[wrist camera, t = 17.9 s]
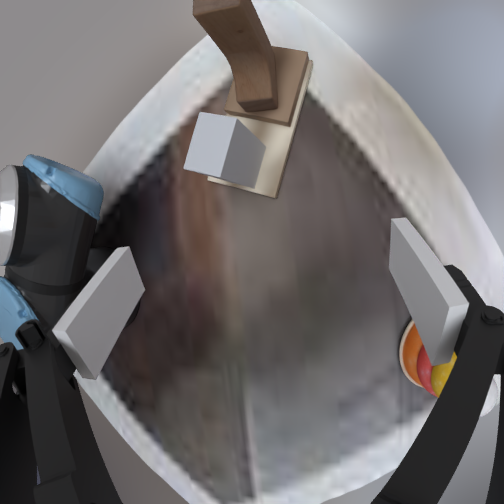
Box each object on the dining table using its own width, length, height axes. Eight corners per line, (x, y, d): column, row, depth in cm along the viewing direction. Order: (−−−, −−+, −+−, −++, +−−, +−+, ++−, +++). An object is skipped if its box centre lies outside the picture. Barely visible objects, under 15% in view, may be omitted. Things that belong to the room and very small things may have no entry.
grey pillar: (227, 181, 44) (183, 168, 31) (238, 140, 43) (199, 111, 30) (254, 188, 43) (220, 177, 30) (266, 146, 42) (236, 118, 29)
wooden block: (278, 109, 39) (241, 44, 22) (245, 113, 40) (189, 54, 23) (274, 52, 38) (238, -28, 21) (243, 56, 39) (192, -17, 22)
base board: (211, 181, 46) (200, 178, 43) (249, 54, 43) (242, 42, 39) (276, 198, 44) (271, 196, 41) (313, 64, 41) (311, 52, 37)
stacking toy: (495, 326, 38) (559, 380, 19) (439, 396, 41) (475, 474, 23) (437, 276, 40) (499, 317, 21) (378, 354, 43) (398, 434, 24)
